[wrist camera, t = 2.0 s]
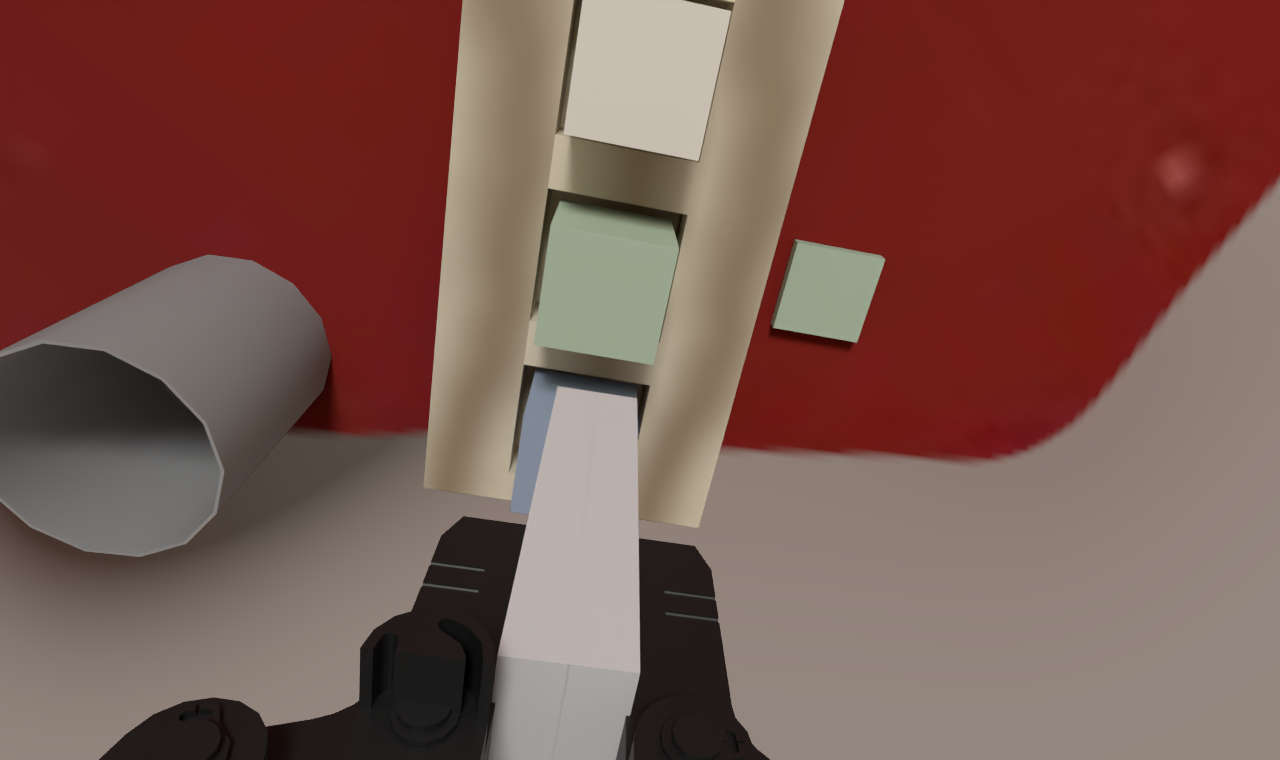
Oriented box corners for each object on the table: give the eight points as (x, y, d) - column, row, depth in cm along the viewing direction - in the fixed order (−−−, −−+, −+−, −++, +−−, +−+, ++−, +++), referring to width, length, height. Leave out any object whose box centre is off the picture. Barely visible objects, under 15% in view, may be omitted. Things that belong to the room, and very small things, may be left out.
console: (438, 454, 36) (423, 487, 33) (487, -94, 26) (471, -110, 24) (692, 492, 37) (698, 528, 35) (828, -16, 28) (850, -23, 25)
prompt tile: (770, 323, 33) (773, 327, 33) (794, 239, 32) (797, 242, 31) (853, 337, 34) (856, 342, 33) (881, 255, 32) (885, 259, 32)
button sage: (545, 304, 31) (533, 344, 26) (560, 199, 29) (550, 224, 25) (649, 322, 31) (653, 365, 27) (671, 219, 29) (679, 248, 25)
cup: (329, 271, 32) (213, 361, 23) (333, 432, 35) (234, 566, 26) (129, 243, 31) (-73, 325, 22) (153, 411, 35) (-13, 541, 26)
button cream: (572, 120, 27) (563, 134, 23) (591, -12, 26) (585, -22, 22) (687, 143, 28) (698, 160, 24) (714, 16, 26) (731, 11, 22)
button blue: (523, 454, 34) (509, 511, 30) (536, 368, 32) (523, 416, 28) (618, 469, 34) (617, 527, 30) (636, 384, 32) (638, 434, 28)
